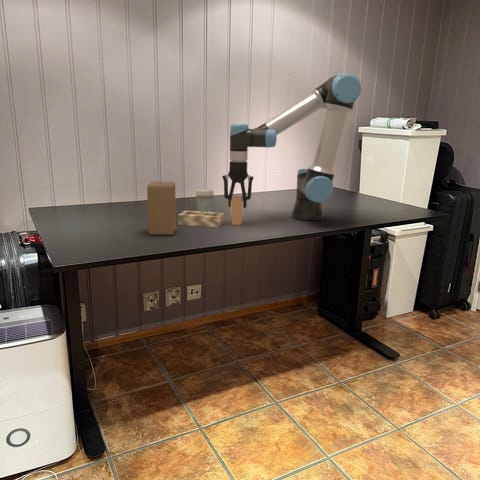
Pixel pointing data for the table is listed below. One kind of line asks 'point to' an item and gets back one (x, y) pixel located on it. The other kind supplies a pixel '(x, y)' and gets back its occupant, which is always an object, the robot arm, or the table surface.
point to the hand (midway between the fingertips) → (237, 214)
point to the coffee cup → (204, 200)
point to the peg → (236, 210)
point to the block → (161, 208)
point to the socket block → (201, 219)
